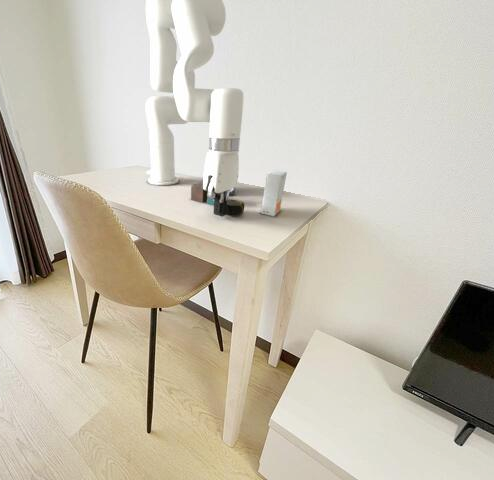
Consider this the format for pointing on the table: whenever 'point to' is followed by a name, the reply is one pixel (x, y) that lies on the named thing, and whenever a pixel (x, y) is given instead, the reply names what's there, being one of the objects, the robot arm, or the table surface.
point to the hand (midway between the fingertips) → (219, 214)
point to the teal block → (210, 200)
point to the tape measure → (234, 208)
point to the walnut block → (198, 193)
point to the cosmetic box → (273, 192)
